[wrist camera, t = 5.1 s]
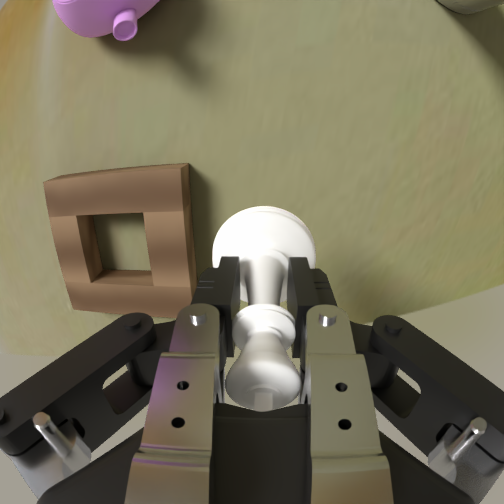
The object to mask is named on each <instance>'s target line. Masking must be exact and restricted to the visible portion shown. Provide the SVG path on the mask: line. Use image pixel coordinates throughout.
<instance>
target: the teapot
mask: <svg viewBox="0 0 504 504" xmlns="http://www.w3.org/2000/svg"><path fill="white" fill-rule="evenodd" d="M52 1H53V4H54V7H55V9H56V12H57V14H58V16H59V17H60V18H61V20H62V21H63V23H64V24H65V25H66V26H67V27H68V28H69V29H70V30H72V31H73V32H75V33H76V34H78V35H81V36H84V37H90V38H91V37H99V36H104V35H107V34H110V33H113V35H114V37H115V38H116V39H117V40H119V41H127V40H130V39H132V38H133V37H134V36H135V35H136V33H137V29H138V28H137V19H139V18H140V17H141V16H143V15H144V14H145V13H147V12H148V11H149V10H150V9H151V8H152V7H153V6H154V5H155V4H156V3H157V2H159V1H160V0H52Z"/></svg>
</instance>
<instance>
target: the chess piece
mask: <svg viewBox="0 0 504 504" xmlns="http://www.w3.org/2000/svg"><path fill="white" fill-rule="evenodd" d="M221 256H239V259H240V300H243V301H245V302H248V307H245V308H244V309H242V310H241V311H239V312H238V313H237V314H236V315H235V317H234V318H233V320H232V338H233V341H234V343H235V344H236V346H237V347H238V348H239V349H240V350H241V353H240V356H239V357H238V359H237V360H236V361H235V362H234V364H233V365H232V367H231V368H230V370H229V372H228V375H227V376H226V380H225V389H226V392H227V394H228V395H229V397H230V398H231V399H232V400H233V401H235V402H236V403H238V404H239V405H241V406H243V407H246V408H249V409H253V410H254V411H259V412H265V411H270V410H273V409H278V408H281V407H283V406H285V405H287V404H289V403H291V402H292V401H293V400H294V399H295V398H296V397H297V396H298V395H299V393H300V391H301V387H302V381H301V377H300V375H299V372H298V371H297V369H296V367H295V365H294V364H293V362H292V361H291V360H290V359H289V357H288V355H287V352H286V350H287V349H288V348H289V347H290V346H291V345H292V344H293V342H294V340H295V336H296V330H295V319H294V317H293V316H292V314H291V313H290V312H288V311H287V310H286V309H284V308H282V307H280V302H283V301H285V300H287V280H288V261H289V257H307V259H308V263H309V266H310V269H314V268H315V262H316V250H315V243H314V240H313V237H312V235H311V233H310V231H309V229H308V228H307V226H306V225H305V224H304V223H303V222H302V221H301V220H300V219H299V218H298V217H296V216H295V215H293V214H292V213H290V212H288V211H286V210H283V209H280V208H276V207H270V206H258V207H252V208H248V209H245V210H242V211H240V212H238V213H236V214H235V215H233V216H232V217H230V218H229V219H228V220H227V221H226V222H225V223H224V224H223V225H222V227H221V228H220V230H219V231H218V233H217V235H216V237H215V240H214V244H213V256H212V260H213V267H214V268H218V266H219V263H220V259H221Z"/></svg>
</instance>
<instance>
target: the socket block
mask: <svg viewBox="0 0 504 504" xmlns="http://www.w3.org/2000/svg"><path fill="white" fill-rule="evenodd" d="M43 183H44V190H45V197H46V203H47V209H48V214H49V219H50V224H51V229H52V234H53V238H54V243H55V247H56V251H57V255H58V259H59V263H60V267H61V270H62V274H63V278H64V281H65V284H66V288H67V291H68V294H69V297H70V301H71V304H72V307H73V309H74V310H83V311H93V312H103V313H114V314H129V313H135V312H140V313H145V314H148V315H149V316H153V317H170V318H177V315H178V313H179V311H180V310H181V309H183V308H184V307H186V306H188V305H190V304H191V301H192V298H193V296H194V293H195V290H196V288H197V285H198V281H197V271H196V260H195V249H194V237H193V224H192V210H191V194H190V176H189V163H183V164H166V165H151V166H139V167H127V168H117V169H108V170H99V171H91V172H83V173H75V174H68V175H61V176H58V177H55V178H53V179H50V180H48V181H45V182H43ZM141 212H143V215H144V224H145V231H146V239H147V246H148V253H149V259H150V266H151V271H142V270H106V269H103V267H102V262H101V257H100V253H99V248H98V243H97V237H96V232H95V226H94V221H93V215H95V214H116V213H141Z"/></svg>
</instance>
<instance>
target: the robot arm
mask: <svg viewBox="0 0 504 504" xmlns="http://www.w3.org/2000/svg"><path fill="white" fill-rule="evenodd" d="M437 1H439V2H440V3H441V4H443V5H444V6H445V7H447V8H449V9H451V10H453V11H454V12H457V13H460V14H467V15H468V14H473V13H476V12H479V11H482V10H485V9H488V8H491V7H495V6H498V5H501V4H504V0H437ZM239 308H240V259H239V256H221V259H220V263H219V266H218V268H208V269H206V270H205V271H204V272H203V273H202V274H201V276H200V279H199V282H198V285H197V288H196V290H195V293H194V296H193V298H192V301H191V304H190V305H188V306H186V307H184V308H183V309H181V310H180V311H179V313H178V315H177V318H176V320H174V321H171V322H166V323H159V324H154V322H153V319H152V317H151V316H149V315H148V314H145V313H140V312H135V313H129V314H126V315H123V316H122V317H120V318H118V319H117V320H115V321H114V322H112V323H111V324H109V325H108V326H106V327H105V328H103V329H102V330H100V331H99V332H97V333H96V334H94V335H92V336H91V337H89V338H88V339H86V340H85V341H83V342H82V343H80V344H79V345H77V346H76V347H74V348H73V349H71V350H70V351H68V352H67V353H65V354H64V355H62V356H61V357H59V358H58V359H57V360H55V361H54V362H52V363H51V364H49V365H48V366H46V367H45V368H43V369H42V370H40V371H39V372H37V373H36V374H34V375H33V376H31V377H30V378H28V379H27V380H25V381H24V382H23V383H21V384H20V385H18V386H17V387H15V388H14V389H12V390H11V391H9V393H7V394H5V395H4V396H2V397H1V398H0V449H1V451H2V452H3V453H4V454H5V455H6V456H8V457H9V458H10V459H11V460H12V461H13V463H14V464H15V466H16V468H17V469H18V471H19V473H20V474H21V476H22V477H23V479H24V480H25V482H26V483H27V485H28V486H29V488H30V489H31V490H32V492H33V493H34V495H35V496H36V497H37V499H38V502H37V504H479V503H480V502H481V501H482V499H483V498H484V497H485V495H486V494H487V493H488V491H489V490H490V489H491V487H492V486H493V484H494V483H495V481H496V480H497V479H498V477H499V476H500V474H501V473H502V471H503V470H504V392H503V391H502V390H501V389H500V388H498V387H497V386H495V385H494V384H493V383H492V382H490V381H489V380H487V379H486V378H485V377H484V376H482V375H480V374H479V373H478V372H477V371H475V370H474V369H473V368H471V367H470V366H468V365H467V364H466V363H464V362H463V361H462V360H460V359H459V358H458V357H456V356H455V355H453V354H452V353H451V352H449V351H448V350H447V349H445V348H444V347H442V346H441V345H439V344H438V343H437V342H435V341H434V340H433V339H431V338H430V337H428V336H427V335H426V334H424V333H422V332H421V331H420V330H418V329H417V328H415V327H414V326H412V325H411V324H410V323H408V322H407V321H405V320H404V319H402V318H400V317H397V316H392V315H385V316H380V317H378V318H377V319H375V320H374V322H373V326H368V325H362V324H357V323H354V322H351V321H349V317H348V315H347V313H346V312H345V311H344V310H343V309H341V308H339V307H338V306H337V303H336V301H335V298H334V295H333V292H332V289H331V286H330V283H329V281H328V278H327V275H326V274H325V273H324V272H323V271H321V270H320V269H310V266H309V263H308V259H307V257H289V261H288V280H287V309H288V312H290V313H291V314H292V316H293V317H294V319H295V330H296V336H295V340H294V342H293V344H292V345H291V347H292V358H300V371H299V375H300V377H301V381H302V387H301V391H300V393H299V395H298V397H299V398H298V405H293V406H289V407H284V408H280V409H275V410H270V411H265V412H259V411H254V410H250V409H246V408H241V407H237V406H233V405H229V404H226V403H225V370H224V367H225V364H226V357H234V350H235V343H234V341H233V338H232V320H233V318H234V317H235V315H236V314H237V313H238V312H239ZM125 364H126V366H127V369H128V371H126V372H125V373H124V374H123V375H121V376H120V377H119V378H117V379H116V380H115V381H113V382H112V383H111V384H110V385H108V386H107V387H106V388H104V389H102V388H103V384H104V382H105V380H106V379H107V378H108V377H110V376H111V375H112V374H114V373H115V372H116V371H118V370H119V369H120V368H121V367H123V366H124V365H125ZM399 368H400V369H401V370H402V371H403V372H405V373H406V374H407V375H408V376H409V377H411V378H412V379H413V380H414V381H416V382H417V383H418V385H419V386H420V389H421V394H419V393H418V392H417V391H416V390H415V389H414V388H412V387H411V386H410V385H409V384H408V383H406V382H405V381H404V380H403V379H402V378H400V377H399V376H398V375H397V372H398V370H399ZM148 404H149V406H148V411H147V416H146V421H145V426H144V427H143V428H142V429H140V430H139V431H137V432H136V433H135V434H133V435H132V436H130V437H129V438H128V439H126V440H124V441H123V442H121V443H120V444H118V445H117V446H115V447H114V448H112V449H111V450H110V451H108V452H106V453H105V454H103V455H102V456H101V457H99V458H97V459H96V460H94V461H93V462H91V463H90V461H91V453H92V452H93V451H94V450H95V449H96V448H98V447H99V446H100V445H101V444H102V443H104V442H105V441H106V440H107V439H108V438H110V437H111V436H112V435H113V434H114V433H115V432H117V431H118V430H119V429H120V428H121V427H122V426H124V425H125V424H126V423H127V422H128V421H129V420H130V419H132V418H133V417H134V416H135V415H136V414H137V413H138V412H139V411H141V410H142V409H143V408H144V407H145V406H146V405H148ZM374 407H375V408H376V409H377V410H378V411H379V412H380V413H381V414H382V415H383V416H385V418H387V419H388V420H389V421H390V422H391V423H392V424H393V425H394V426H395V427H396V428H397V429H398V430H399V431H400V432H401V433H402V434H403V435H404V436H406V437H407V438H408V439H409V440H410V441H411V442H412V443H413V444H414V445H415V446H416V447H417V448H418V449H419V450H421V451H422V452H423V453H424V454H425V455H426V456H427V457H428V465H429V467H428V466H426V465H425V464H424V463H422V462H421V461H419V460H418V459H416V458H415V457H414V456H413V455H411V454H410V453H408V452H407V451H405V450H404V449H403V448H402V447H400V446H399V445H398V444H396V443H395V442H394V441H392V440H391V439H390V438H388V437H387V436H386V435H384V434H383V433H382V432H381V431H379V430H378V425H377V420H376V414H375V408H374Z"/></svg>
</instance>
